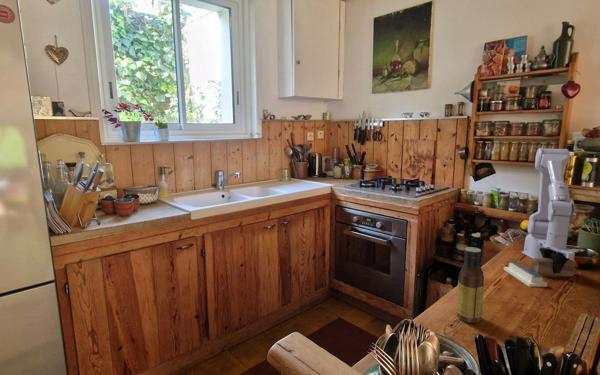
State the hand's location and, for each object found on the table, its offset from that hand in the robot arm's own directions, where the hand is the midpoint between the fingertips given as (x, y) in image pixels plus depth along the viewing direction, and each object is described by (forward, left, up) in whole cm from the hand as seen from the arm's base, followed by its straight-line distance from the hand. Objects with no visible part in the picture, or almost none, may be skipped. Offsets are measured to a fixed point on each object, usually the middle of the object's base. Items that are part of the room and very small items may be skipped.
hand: (552, 270), depth 123 cm
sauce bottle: (+29, -45, -2) cm, 54 cm away
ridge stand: (+3, -12, -1) cm, 12 cm away
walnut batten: (0, 0, -2) cm, 2 cm away
